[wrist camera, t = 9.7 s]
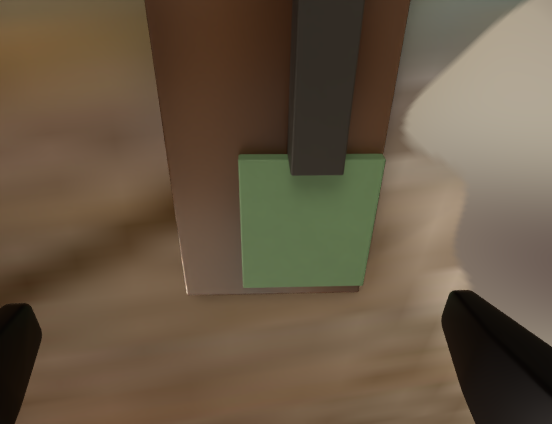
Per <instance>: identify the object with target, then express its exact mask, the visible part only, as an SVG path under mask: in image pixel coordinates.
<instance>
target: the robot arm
mask: <svg viewBox="0 0 552 424" xmlns="http://www.w3.org/2000/svg"><path fill="white" fill-rule="evenodd" d="M441 322H442V328H443V331H444V334H445V338H446V341H447V344H448V348H449V351H450V354H451V357H452V361H453V364H454V367H455V371H456V374H457V377H458V380H459V383H460V386H461V389H462V392H463V395H464V397H465V400H466V402H467V405H468V407H469V410H470V412H471V414H472V417H473V419H474V421H475V424H552V347H551V346H550V345H548V344H547V343H545V342H544V341H543V340H541V339H540V338H538V337H537V336H535V335H534V334H533V333H531V332H530V331H528V330H527V329H526V328H524V327H523V326H521V325H520V324H518V323H517V322H516V321H514V320H513V319H511V318H510V317H508V316H507V315H506V314H504V313H503V312H501V311H500V310H498V309H497V308H496V307H494V306H493V305H491V304H490V303H488V302H487V301H486V300H484V299H483V298H481V297H480V296H479V295H477V294H476V293H474V292H473V291H470V290H454V291H452V292H451V293H450V294H449V296H448V299H447V302H446V305H445V308H444V311H443V314H442V319H441ZM41 338H42V331H41V328H40V325H39V323H38V321H37V319H36V316H35V314H34V312H33V310H32V307H31V306H30V305H29V304H26V303H15V304H6V305H4V306H3V307H1V308H0V424H15V421H16V419H17V416H18V414H19V411H20V408H21V405H22V402H23V399H24V396H25V393H26V389H27V386H28V383H29V379H30V376H31V373H32V369H33V366H34V363H35V360H36V356H37V353H38V350H39V346H40V343H41Z"/></svg>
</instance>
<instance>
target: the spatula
mask: <svg viewBox="0 0 552 424" xmlns="http://www.w3.org/2000/svg"><path fill="white" fill-rule="evenodd" d="M364 4H365V0H292V28H291V57H290V86H289V115H288V144H287V154H240V155H239V156H238V172H239V198H240V224H241V250H242V275H243V288H265V287H316V286H362V285H363V282H364V276H365V271H366V265H367V260H368V254H369V249H370V243H371V238H372V232H373V227H374V221H375V216H376V210H377V205H378V200H379V194H380V189H381V183H382V178H383V172H384V167H385V161H386V160H385V158H384V156H383V154H346V151H347V143H348V135H349V127H350V118H351V110H352V102H353V94H354V86H355V77H356V69H357V61H358V53H359V45H360V36H361V28H362V20H363V12H364Z"/></svg>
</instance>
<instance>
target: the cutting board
mask: <svg viewBox="0 0 552 424" xmlns="http://www.w3.org/2000/svg"><path fill="white" fill-rule="evenodd" d="M409 5H410V0H365V4H364V12H363V20H362V28H361V36H360V45H359V53H358V61H357V69H356V77H355V86H354V94H353V102H352V110H351V118H350V127H349V135H348V143H347V151H346V154H383V152H384V146H385V140H386V135H387V129H388V124H389V118H390V112H391V107H392V101H393V95H394V90H395V84H396V79H397V73H398V67H399V62H400V56H401V50H402V45H403V39H404V34H405V28H406V22H407V17H408V11H409ZM145 7H146V14H147V21H148V28H149V35H150V42H151V49H152V56H153V63H154V70H155V77H156V84H157V91H158V98H159V105H160V112H161V119H162V126H163V133H164V140H165V147H166V154H167V161H168V168H169V175H170V182H171V188H172V195H173V202H174V209H175V216H176V223H177V230H178V237H179V244H180V251H181V258H182V265H183V272H184V279H185V286H186V293H187V295H233V294H284V293H334V292H358V291H359V287H360V286H316V287H265V288H243V275H242V250H241V224H240V198H239V172H238V156H239V155H240V154H287V144H288V115H289V86H290V57H291V28H292V0H145Z"/></svg>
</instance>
